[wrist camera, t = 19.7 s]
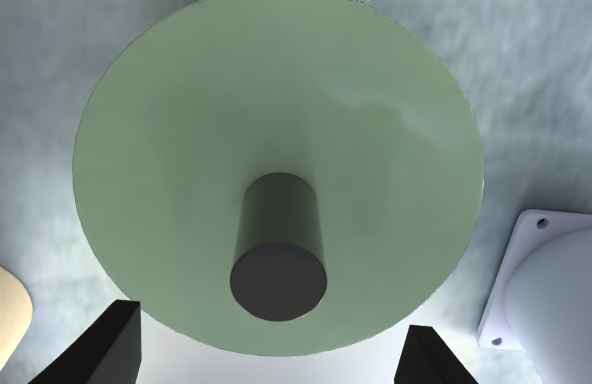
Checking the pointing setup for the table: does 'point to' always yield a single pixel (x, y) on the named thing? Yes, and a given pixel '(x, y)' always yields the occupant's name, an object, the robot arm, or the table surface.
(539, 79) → the table surface
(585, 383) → the robot arm
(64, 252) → the table surface
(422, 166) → the lid
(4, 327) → the cream bottle
